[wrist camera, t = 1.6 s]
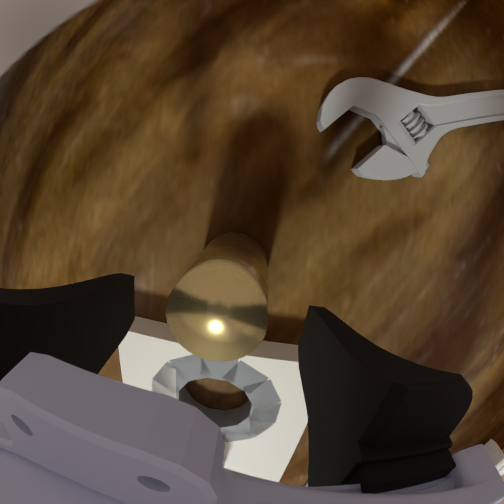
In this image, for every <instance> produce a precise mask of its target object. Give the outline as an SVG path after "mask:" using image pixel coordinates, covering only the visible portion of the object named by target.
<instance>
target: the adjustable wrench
mask: <svg viewBox="0 0 504 504" xmlns="http://www.w3.org/2000/svg"><path fill="white" fill-rule="evenodd" d="M347 110H350V111H352V112H355V113H357V114H359V115H362V116H364V117H366V118H369V119H371V120H372V122H373V123H374V124H375V126H376V127H377V128H378V130H379V131H380V132H381V136H382V144H383V145H381V146H377V147H376V148H375V149H373V150H372V151H371V152H370V153H369V154H368V155H367V156H365V157H364V158H363V159H362V160H361V161H360V162H359V163H358V164H356V165H355V166H354V167H353V168H352V169H351V170H352V171H353V172H354V174H355V175H356V176H359V177H363V178H368V179H376V180H396V179H400V178H403V177H407V176H409V175H412V176H413V177H423V175H424V174H425V170H426V169H427V168H428V167H429V164H428V163H427V160H428V157H429V155H430V153H431V151H432V150H433V148H434V146H435V145H436V143H437V141H438V140H439V139H440V138H441V137H442V135H444V134H445V133H447V132H448V131H450V130H453V129H455V128H459V127H465V126H470V125H476V124H482V123H488V122H495V121H501V120H504V90H493V91H483V92H475V93H467V94H460V95H454V96H447V97H434V96H429V95H425V94H421V93H417V92H414V91H410V90H407V89H403V88H400V87H397V86H394V85H392V84H389V83H386V82H383V81H380V80H376V79H373V78H367V77H357V78H351V79H348V80H345V81H344V82H342V83H340V84H339V85H337V86H336V87H335V88H334V89H333V90H332V91H331V92H330V93H329V94H328V95H327V97H326V98H325V99H324V101H323V103H322V105H321V106H320V108H319V110H318V116H317V122H316V125H317V128H318V130H319V131H320V132H322V131H323V130H324V129H326V128H327V127H328V126H329V125H330V124H332V123H333V122H334V121H335V120H336V119H338V118H339V117H340V116H341V115H343V114H344V113H345V112H346V111H347ZM413 110H414V111H415V113H414V112H413Z"/></svg>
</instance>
